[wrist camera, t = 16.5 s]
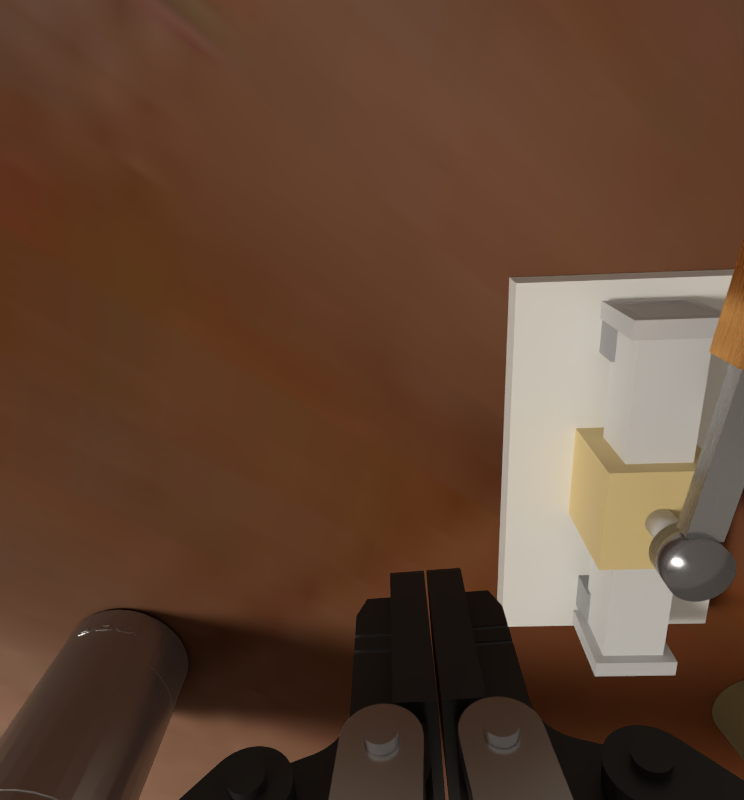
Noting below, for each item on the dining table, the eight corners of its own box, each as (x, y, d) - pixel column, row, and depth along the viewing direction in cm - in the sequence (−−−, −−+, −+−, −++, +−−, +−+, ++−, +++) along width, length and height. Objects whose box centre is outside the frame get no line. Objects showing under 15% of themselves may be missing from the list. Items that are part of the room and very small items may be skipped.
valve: (691, 604, 44) (775, 723, 35) (496, 607, 45) (527, 726, 35) (749, 268, 36) (881, 304, 26) (509, 277, 36) (553, 315, 27)
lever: (639, 569, 31) (660, 601, 29) (758, 185, 25) (796, 187, 22) (701, 575, 31) (726, 608, 29) (835, 194, 25) (882, 197, 22)
